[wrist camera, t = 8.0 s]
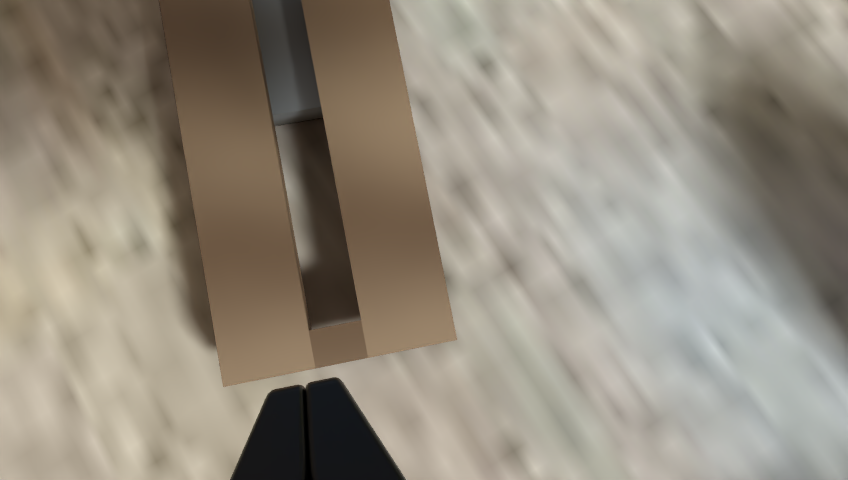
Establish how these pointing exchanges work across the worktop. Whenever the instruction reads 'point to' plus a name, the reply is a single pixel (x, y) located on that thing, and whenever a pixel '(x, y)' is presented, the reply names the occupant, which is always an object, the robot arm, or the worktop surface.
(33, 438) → the worktop surface
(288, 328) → the slotted wooden board
